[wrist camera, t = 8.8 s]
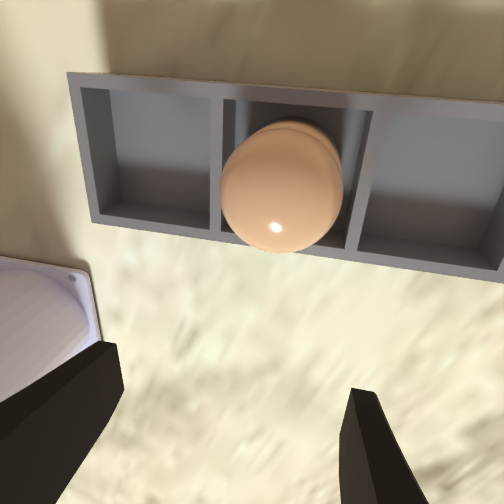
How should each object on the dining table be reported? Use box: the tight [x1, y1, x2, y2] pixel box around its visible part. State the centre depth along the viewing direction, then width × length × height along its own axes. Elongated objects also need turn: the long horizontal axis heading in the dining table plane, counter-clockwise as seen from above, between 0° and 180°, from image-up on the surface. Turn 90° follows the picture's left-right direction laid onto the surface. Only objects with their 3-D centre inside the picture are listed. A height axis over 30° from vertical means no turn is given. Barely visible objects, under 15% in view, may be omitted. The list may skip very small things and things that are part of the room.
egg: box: [219, 116, 343, 253], centre depth 13 cm, size 4×4×6 cm
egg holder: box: [67, 72, 504, 283], centre depth 15 cm, size 18×6×3 cm, turn 87°
